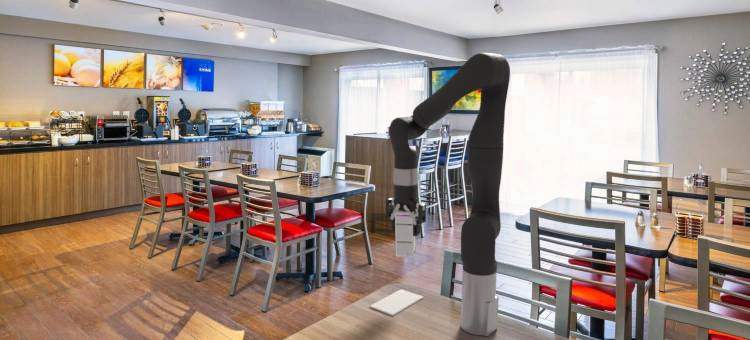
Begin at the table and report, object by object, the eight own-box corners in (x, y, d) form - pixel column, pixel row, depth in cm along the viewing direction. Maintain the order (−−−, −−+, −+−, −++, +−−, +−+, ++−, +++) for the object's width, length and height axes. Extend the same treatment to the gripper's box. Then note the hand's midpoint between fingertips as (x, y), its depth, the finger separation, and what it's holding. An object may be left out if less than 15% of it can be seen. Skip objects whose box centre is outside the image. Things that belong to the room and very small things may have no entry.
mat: (423, 298, 151) (423, 296, 151) (392, 316, 139) (392, 314, 139) (401, 290, 157) (401, 289, 157) (369, 307, 145) (369, 305, 145)
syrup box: (413, 258, 145) (414, 212, 143) (394, 257, 146) (394, 211, 144) (415, 252, 151) (416, 208, 148) (397, 251, 152) (397, 207, 149)
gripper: (432, 183, 143) (431, 235, 146) (394, 177, 152) (394, 226, 155) (417, 187, 137) (417, 240, 140) (380, 181, 146) (380, 231, 149)
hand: (405, 233), depth 147 cm, fingers closed on syrup box, 7 cm apart
